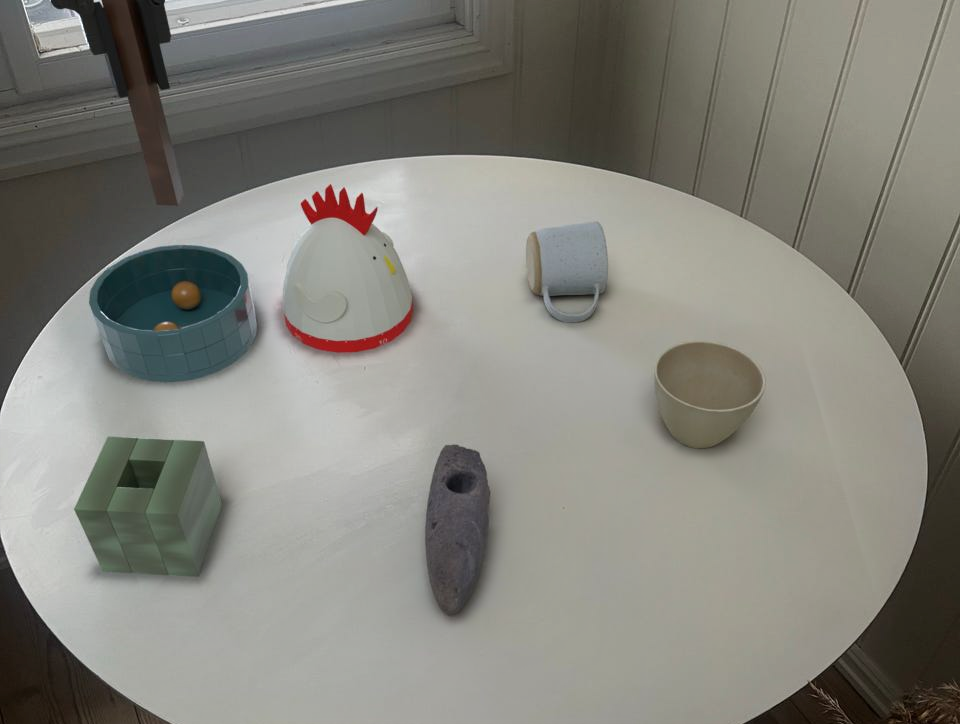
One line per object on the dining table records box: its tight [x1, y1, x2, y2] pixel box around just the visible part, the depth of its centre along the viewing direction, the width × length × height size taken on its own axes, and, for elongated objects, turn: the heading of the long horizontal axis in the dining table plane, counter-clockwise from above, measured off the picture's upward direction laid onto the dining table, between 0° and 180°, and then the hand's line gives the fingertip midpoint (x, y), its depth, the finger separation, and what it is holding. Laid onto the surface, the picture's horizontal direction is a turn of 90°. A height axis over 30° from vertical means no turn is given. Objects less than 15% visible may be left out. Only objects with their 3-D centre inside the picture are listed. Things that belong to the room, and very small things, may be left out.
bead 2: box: [172, 281, 201, 310], centre depth 98 cm, size 3×3×3 cm
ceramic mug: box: [525, 221, 609, 323], centre depth 101 cm, size 11×8×8 cm
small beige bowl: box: [653, 340, 767, 449], centre depth 86 cm, size 10×10×7 cm
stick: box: [100, 0, 185, 207], centre depth 77 cm, size 2×2×22 cm
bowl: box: [88, 244, 258, 383], centre depth 96 cm, size 16×16×6 cm
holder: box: [73, 436, 223, 578], centre depth 76 cm, size 8×8×8 cm
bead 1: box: [153, 321, 180, 331], centre depth 94 cm, size 3×3×3 cm
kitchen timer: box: [281, 183, 414, 354], centre depth 95 cm, size 14×14×15 cm
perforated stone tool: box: [424, 444, 491, 617], centre depth 75 cm, size 15×5×7 cm, turn 175°
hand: (141, 86), depth 77 cm, fingers closed on stick, 3 cm apart
